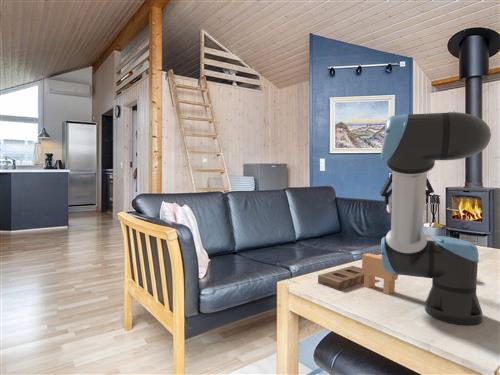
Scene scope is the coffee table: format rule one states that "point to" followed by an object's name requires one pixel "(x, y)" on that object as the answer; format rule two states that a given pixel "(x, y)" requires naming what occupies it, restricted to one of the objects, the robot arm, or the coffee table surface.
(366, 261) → the clip
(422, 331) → the coffee table surface
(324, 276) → the slotted wooden base
